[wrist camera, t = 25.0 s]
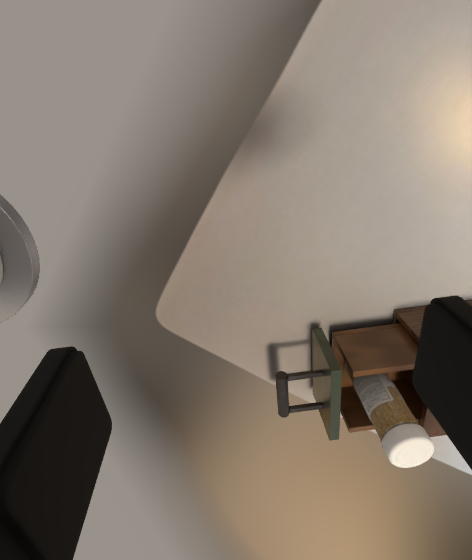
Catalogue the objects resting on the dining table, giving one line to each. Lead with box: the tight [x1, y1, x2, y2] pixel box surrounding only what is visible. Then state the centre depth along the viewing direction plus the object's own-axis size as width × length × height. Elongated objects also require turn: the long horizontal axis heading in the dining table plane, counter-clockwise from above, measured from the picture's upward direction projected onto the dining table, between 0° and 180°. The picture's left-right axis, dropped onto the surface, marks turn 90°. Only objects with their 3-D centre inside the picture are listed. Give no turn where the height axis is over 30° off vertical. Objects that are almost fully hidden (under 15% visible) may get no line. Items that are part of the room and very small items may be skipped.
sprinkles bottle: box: [344, 362, 434, 468], centre depth 39 cm, size 5×5×13 cm
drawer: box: [275, 323, 424, 440], centre depth 42 cm, size 19×11×8 cm, turn 96°
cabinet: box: [393, 300, 472, 437], centre depth 43 cm, size 15×13×10 cm
